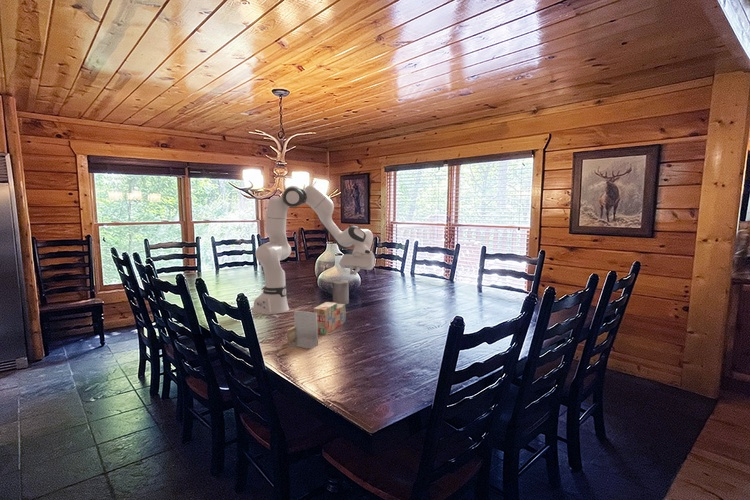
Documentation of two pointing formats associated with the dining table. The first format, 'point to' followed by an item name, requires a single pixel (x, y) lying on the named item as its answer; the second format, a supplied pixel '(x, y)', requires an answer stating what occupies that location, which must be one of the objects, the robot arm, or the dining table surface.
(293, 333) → the back rail
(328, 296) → the dining table surface
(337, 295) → the pillar candle
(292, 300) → the dining table surface
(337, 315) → the stack of blocks
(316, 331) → the bookend
